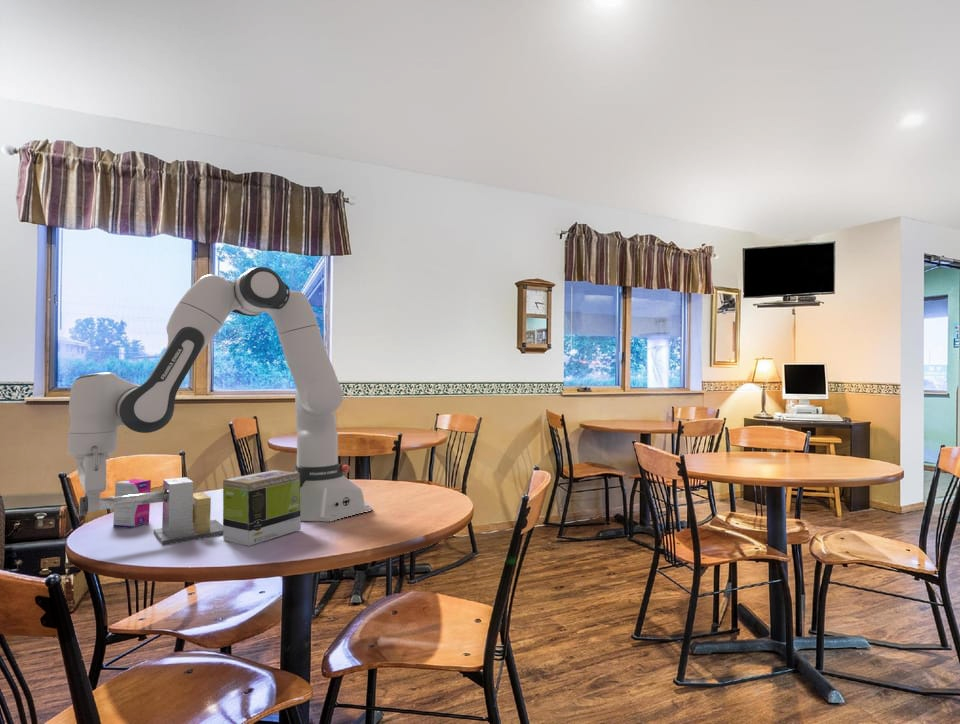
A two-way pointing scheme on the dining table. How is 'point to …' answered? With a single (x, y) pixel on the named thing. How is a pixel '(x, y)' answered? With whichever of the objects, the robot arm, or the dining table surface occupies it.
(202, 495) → the block
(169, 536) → the stand
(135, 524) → the supplement box
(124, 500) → the shaft
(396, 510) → the dining table surface
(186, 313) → the robot arm
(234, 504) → the tea box
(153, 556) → the dining table surface
